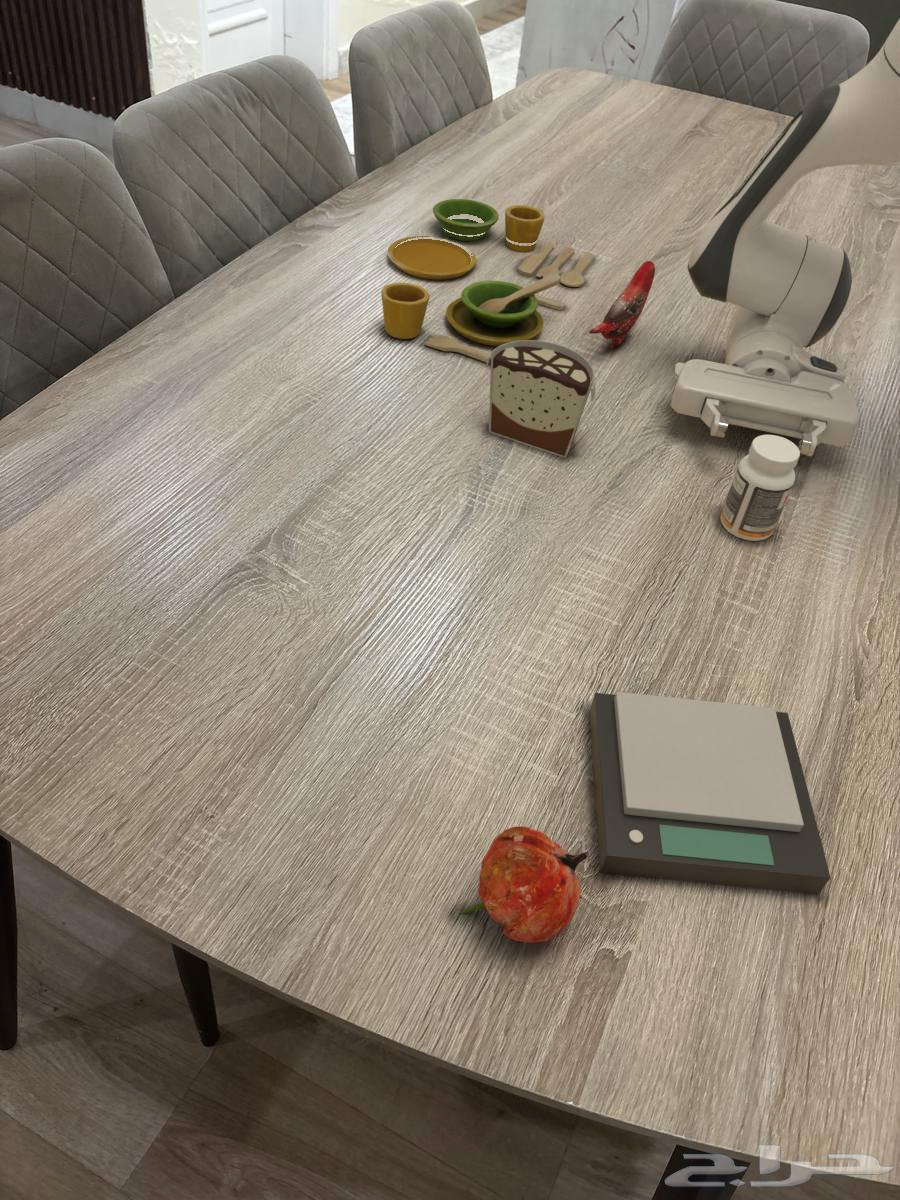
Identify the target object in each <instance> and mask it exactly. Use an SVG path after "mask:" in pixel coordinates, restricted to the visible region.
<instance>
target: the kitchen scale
mask: <svg viewBox="0 0 900 1200" xmlns="http://www.w3.org/2000/svg"><path fill="white" fill-rule="evenodd" d="M588 713H589V729H590V742H591V755H592V756H591V758H592V759H591V760H592V775H593V788H594V790H593V791H594V804H595V805H594V806H595V820H596V821H595V822H596V835H597V851H598V864H599V865H598V867H599V873H601V874H611V875H619V876H629V877H639V878H648V879H649V878H650V879H659V880H670V881H679V882H688V883H699V884H700V883H701V884H707V885H708V884H710V885H720V886H729V887H740V888H750V889H760V890H771V891H780V892H788V893H799V894H810V895H820V893H821V892H822V891H823V889H824V888H825V887H826V885H827V884H828V882H829V881H830V880H831V873H830V870H829V866H828V863H827V859H826V855H825V850H824V847H823V842H822V839H821V835H820V832H819V827H818V824H817V823H818V822H817V820H816V817H815V812H814V809H813V804H812V801H811V796H810V793H809V790H808V786H807V785H808V784H807V781H806V777H805V774H804V770H803V766H802V763H801V759H800V755H799V751H798V747H797V744H796V739H795V736H794V732H793V728H792V724H791V720H790V716H789V713H788V712H785V711H784V712H782V711H776V708H775V707H768V706H759V705H749V704H741V703H729V702H720V701H711V700H703V699H702V700H701V699H693V698H683V697H673V696H665V695H664V696H662V695H653V694H643V693H634V692H626V691H615V694H611V693H603V692H594V695H593V698H592V701H591V704H590V707H589V712H588Z"/></svg>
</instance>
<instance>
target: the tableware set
mask: <svg viewBox="0 0 900 1200" xmlns="http://www.w3.org/2000/svg"><path fill="white" fill-rule="evenodd" d="M504 210H505V211H504V223H505V224H504V230H505V234H504V235H506V237H507V238H508V239H509V240H511V241H514V242H518V243H533V242H535V241H536V240H537V239H538V240H539V236H540V233H541V232H542V231H541V230H542V228H543V224H544V222H545V219H546V214H545V212H544V211H543V210H541V209H540V208H537V207H533V206H530V205H522V204H520V205H519V204H517V205H510V206H509V207H507V208H506V209H504ZM432 213H433V215H434V217H435V219H437V221H438V223H439V225H440V226H442V227H443V228H444V229H446V230H448V231H450V232H454V233H456V234H462V235H477V234H481V233H484V232H486V231H487V232H486V233H485V234H483V235H480V236H473V237H467V236H459V235H455V234H452V233H449V232H447V231H445V230H444V229H443V228H442V227H441V229H442V231H443V233H444V234H445V235H446V236H447V237H449V238H451V239H452V240H456V241H460V242H477V241H478V240H481V239H483V237H484V236H485V235H486V234H487V233H488V231H489V230H490V229H491V227H493V226H494V225H496V223H497V222H498V220H499V218H500V216H499V213H498V211H497V210H496V209H495V208H493V206H491V205H489V204H486V203H484V202H481V201H478V200H473V199H466V198H451V199H446V200H442V201H439V202H437V203H436V204H435V205H433V208H432ZM460 214H469V215H473V216H477V217H478V218H481V219H482V220H483V221H484V223H478V222H476V221H473V220H469V219H452V220H450V219H447V218H448V217H450V216H453V215H460ZM429 236H430V235H414V236H406V237H402V238H399V239H398V240H395V241H393V242H392V243H391V244H390V245H389V246H388V248H387V256H388V258H389V260H390V261H391V262H392V263H393V264H394V265H395V267H396V268H398V269H399V270H400V271H402V272H404V273H405V274H408V275H410V276H413V277H416V278H421V279H426V280H435V281H439V280H441V281H442V280H443V281H444V280H452V279H456V278H457V279H458V278H459V277H461V276H464V275H466V274H467V273H468V272H469V271H471V270H472V269H473V268H474V267H475V265H476V264H477V256H476V254H475V252H473V253H471V255H472V254H473V255H474V254H475V255H474V256H471V258H472V261H471V258H470V255H469V254H468V253H467V252H466V251H465V250H464V249H462V248H461V247H459V246H457V245H454V244H452V243H448V242H445V241H440V240H432V239H418V240H411V241H407V242H404V243H402V244H400V243H401V242H403V241H406V240H408V239H411V238H412V239H413V238H416V237H417V238H418V237H422V238H423V237H429ZM538 240H537V241H538ZM398 244H400V245H398ZM397 245H398V246H397ZM505 245H506V247H507V248H509V249H510V250H512V251H516V252H521V253H528V252H532V251H533V250H534V249H535V248H536V246H537V243H536V244H534V245H531V246H519V245H515V244H512V243H510V242H508V241H507V240H506V239H505ZM396 246H397V247H396ZM395 247H396V248H395ZM554 249H555V244H554V243H552V242H545V243H544V244H543V245H542V246H541V247H540V250H539V251H538V253H537V254H534V253H533V254H529V255H528V256H526V257H525V259H524V260H523V261H522V262H521V263H520V264H519V265H518V267H517V270H518V273H519V274H520V275H522V276H524V277H528V278H529V277H532V276H534V274H535V273H536V272H537V273H536V274H535V277H536V278H539V279H538V280H536V281H535V282H533V283H530V284H529V285H526V286H525V287H524V286H521V285H518V284H516V283H511V282H508V281H501V280H482V281H481V280H480V281H477V282H473V283H471V284H468V285H467V286H466V287H464V289H463V290H462V291H461V293H460V297H459V298H457V299H455V300H453V301H452V302H450V304H449V305H448V306H447V307H446V311H445V316H446V319H447V321H448V323H449V324H450V326H451V327H452V328H453V329H454V331H455V332H456V333H458V334H459V335H461V336H463V337H464V338H466V339H468V340H470V341H471V342H474V343H477V344H481V345H485V346H492V347H499V346H501V345H503V344H506V343H509V342H514V341H521V340H532V339H534V337H536V336H537V335H539V334H540V333H541V331H542V330H543V328H544V319H543V316H542V315H541V314H540V312H539V311H538V307H539V305H540V306H543V307H547V308H549V309H554V310H557V311H563V310H564V309H565V306H566V305H565V303H564V302H563V301H559V300H556V299H552V298H549V297H545V296H541V295H538V294H539V293H541V292H544V291H547V290H548V289H551V288H553V287H556V286H557V285H559V284H560V283H561V284H562V285H564V286H566V287H571V288H579V287H582V286H583V285H585V277H584V276H583V273H584V272H585V271H586V269H587V268H588V267H589V266H590V265H591V264H592V262H594V258H595V255H594V254H593V253H592V252H589V251H584V252H582V253H581V255H580V257H579V259H578V260H577V261H576V264H575V265H574V268H573V270H571V271H568V272H564V273H562V274H561V271H560V270H559V269H560V268H561V267H562V266H563V265H565V264H566V263H567V261H569V260H570V259H571V258H572V257H573V256H574V255H575V248H573V247H571V246H566V247H564V248H563V249H562V250H561V252H560V253H559V254H558V255H557V256H556V258H555V259H554V261H553V262H552V263H551V264H550V265H547V266H546V265H545V266H543V267H541V265H542V264H543V263H544V262H545V260H546V259H547V258H548V257H549V255H550V254H551V253H552V252H553V251H554ZM475 256H476V257H475ZM470 262H471V263H470ZM475 263H476V264H475ZM540 267H541V268H540ZM539 268H540V269H539ZM538 269H539V270H538ZM537 270H538V271H537ZM540 278H541V279H540ZM380 292H381V293H380V295H381V303H382V312H383V314H382V315H383V322H384V331H385V332H386V334H388V335H389V336H391V337H392V338H396V339H400V340H409V339H414V338H416V337H418V336H419V335H420V334H421V331H422V329H423V326H424V325H423V324H424V321H425V317H426V313H427V309H428V305H429V301H430V293H429V291H428V290H426V288H424V287H422V286H420V285H418V284H414V283H410V282H393V283H389V284H387V285H384V286H383V287H382V289H381V291H380ZM424 345H425V346H427V347H430V348H432V349H436V350H439V351H441V352H455V353H459V354H461V355H465V356H468V357H470V358H473V359H476V360H478V361H481V362H484V363H487V360H488V358H489V356H490V355H491V354H492V352H489V351H486V350H482V349H478V348H475V347H472V346H468V345H466V344H462V343H460V342H459V341H457V340H456V339H455V338H453V337H450V336H446V335H441V334H434V333H433V334H432V335H431V336H430V337H429V338H428V339H427V340H426V341H424Z"/></svg>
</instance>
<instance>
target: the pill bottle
mask: <svg viewBox="0 0 900 1200" xmlns="http://www.w3.org/2000/svg"><path fill="white" fill-rule="evenodd" d="M797 446H798V445H796V443H794V442H792V441H791V440H789V439H787V438H785V437H783V436H781V435H780V436H779V435H774V434H761V435H758V436H756V437H755V438H754V439H753V440H752V441H751V444H750V446H749V450H748V454H747V455H745V456H743V458H742V459H741V460H740V461H739V462H738V466H737V468H736V472H735V474H734V477H733V479H732V481H731V485H730V487H729V491H728V493H727V496H726V498H725V501H724V503H723V506H722V509H721V512H720V521H721V525H722V526H723V528H724V529H725V530H726V531H727V532H728V533H730V534H731V535H732V536H734V537H737V538H739V539H741V540H744V541H751V542H753V541H754V542H759V541H763V540H766V539H768V538H770V537H771V536H772V535H773V534H774V532H775V530H776V527H777V525H778V523H779V520H780V517H781V515H782V513H783V510H784V508H785V505H786V503H787V501H788V499H789V495H790V493H791V491H792V488H793V486H794V484H795V481H796V473H795V469H794V468H796V466H797V464H798V462H799V459H800V456H801V454H800V451H799V449H798V447H797Z"/></svg>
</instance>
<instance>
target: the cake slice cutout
mask: <svg viewBox="0 0 900 1200" xmlns="http://www.w3.org/2000/svg"><path fill="white" fill-rule="evenodd" d="M491 353H492V354H491V355H490V356H489V358H488V360H487V363H486V362H485V363H486V364H485V366H484V368H488V367H489V366H490V376H489V377H490V379H489V383H490V384H489V406H488V407H489V410H488V411H489V412H488V433H491V434H493V435H496V436H499V437H502V438H505V439H508V440H511V441H514V442H517V443H520V444H522V445H526V446H529V447H532V448H535V449H538V450H541V451H544V452H546V453H548V454H552V455H555V456H558V457H560V458H565V459H566V458H567V457H568V455H569V454H570V453H569V452H570V450H571V447H572V445H573V441H574V438H575V436H576V433H577V429H578V427H579V424H580V421H581V419H582V415H583V413H584V410H585V407H586V404H587V401H588V398H589V396H590V402H593V401H594V400H595V396H596V376H595V371H594V369H593V366H592V364H591V363H590V362H589V361H588V360H587V359H586V358H585V356H583V355H582V354H580V353H578V352H577V351H575V350H573V349H571V348H569V347H567V346H563V345H561V344H558V343H555V342H549V341H544V340H537V339H536V340H533V339H530V340H521V341H514V342H509V343H506V344H503V345H501V346H496V348H494V349H493V350H491Z"/></svg>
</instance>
